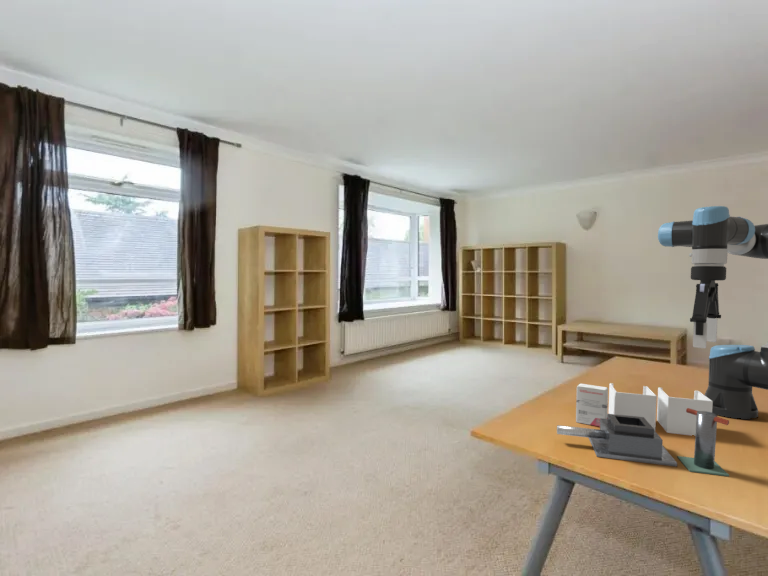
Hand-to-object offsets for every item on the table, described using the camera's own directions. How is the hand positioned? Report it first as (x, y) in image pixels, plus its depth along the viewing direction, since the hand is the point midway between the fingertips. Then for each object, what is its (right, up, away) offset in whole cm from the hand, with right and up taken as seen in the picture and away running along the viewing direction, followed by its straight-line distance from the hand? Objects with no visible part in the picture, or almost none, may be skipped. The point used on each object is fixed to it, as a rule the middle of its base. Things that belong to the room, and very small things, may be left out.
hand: (705, 344), depth 113 cm
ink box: (-21, -28, +20) cm, 40 cm away
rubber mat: (-7, -29, -9) cm, 31 cm away
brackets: (-1, -28, +18) cm, 34 cm away
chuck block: (-25, -29, +2) cm, 38 cm away
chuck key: (-7, -29, -9) cm, 31 cm away
